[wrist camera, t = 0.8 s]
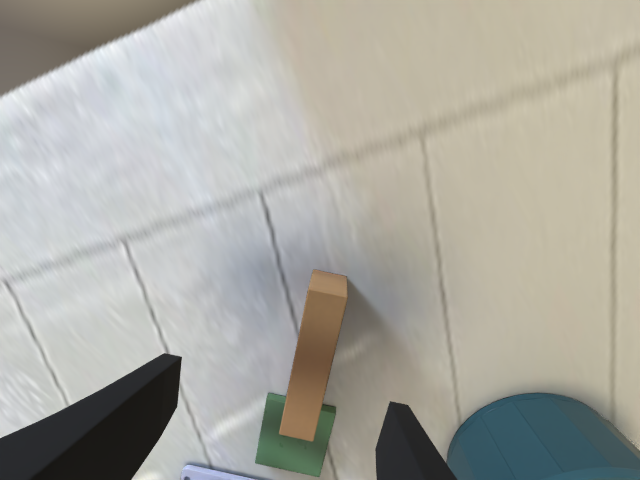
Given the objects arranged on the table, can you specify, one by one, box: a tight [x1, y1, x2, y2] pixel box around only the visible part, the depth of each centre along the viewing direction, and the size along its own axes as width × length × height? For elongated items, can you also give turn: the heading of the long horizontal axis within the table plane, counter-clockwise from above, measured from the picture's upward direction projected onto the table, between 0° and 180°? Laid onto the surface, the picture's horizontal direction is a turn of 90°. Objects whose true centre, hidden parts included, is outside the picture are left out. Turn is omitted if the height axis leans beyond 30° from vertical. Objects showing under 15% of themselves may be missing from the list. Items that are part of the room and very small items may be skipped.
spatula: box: [255, 270, 348, 477], centre depth 20 cm, size 16×5×3 cm, turn 169°
